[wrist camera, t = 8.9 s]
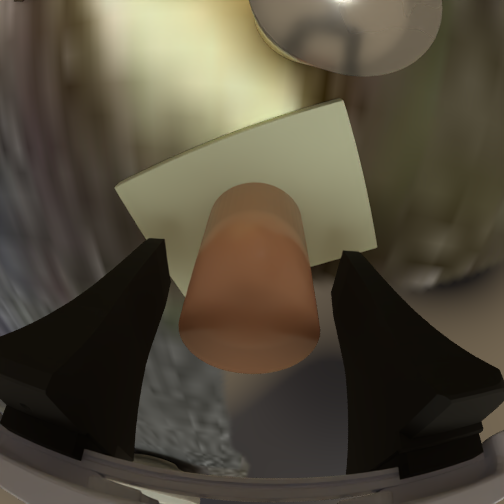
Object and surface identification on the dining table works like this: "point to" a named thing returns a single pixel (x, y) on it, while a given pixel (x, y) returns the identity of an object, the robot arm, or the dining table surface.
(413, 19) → the grey shiny short cylinder
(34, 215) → the dining table surface
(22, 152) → the dining table surface
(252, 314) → the terracotta cap
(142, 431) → the dining table surface
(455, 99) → the dining table surface
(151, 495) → the cereal bowl
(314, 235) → the mat
